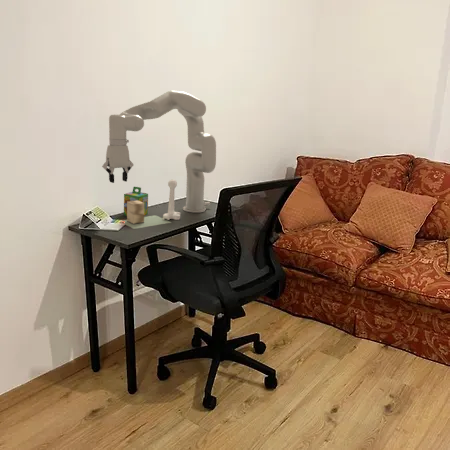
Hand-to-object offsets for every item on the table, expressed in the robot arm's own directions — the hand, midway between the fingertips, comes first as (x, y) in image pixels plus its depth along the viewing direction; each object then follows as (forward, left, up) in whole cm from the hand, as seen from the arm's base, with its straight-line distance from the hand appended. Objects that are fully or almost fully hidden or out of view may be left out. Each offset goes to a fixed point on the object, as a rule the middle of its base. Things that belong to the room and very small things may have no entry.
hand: (118, 181), depth 221 cm
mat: (-14, +1, -22) cm, 25 cm away
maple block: (-9, 0, -21) cm, 23 cm away
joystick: (-29, +3, -22) cm, 36 cm away
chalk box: (-16, -12, -22) cm, 30 cm away
